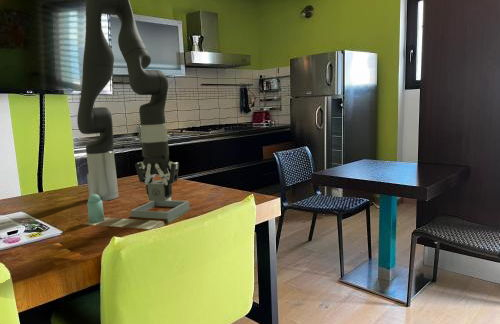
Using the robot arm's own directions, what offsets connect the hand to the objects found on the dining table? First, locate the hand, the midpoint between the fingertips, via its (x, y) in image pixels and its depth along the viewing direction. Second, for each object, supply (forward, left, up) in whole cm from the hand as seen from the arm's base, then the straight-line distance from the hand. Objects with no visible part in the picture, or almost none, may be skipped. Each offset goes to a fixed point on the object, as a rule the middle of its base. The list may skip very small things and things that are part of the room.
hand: (159, 196), depth 111 cm
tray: (0, 0, -6) cm, 6 cm away
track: (-5, -12, -6) cm, 14 cm away
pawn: (-14, -12, -5) cm, 18 cm away
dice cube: (0, 0, -1) cm, 1 cm away
